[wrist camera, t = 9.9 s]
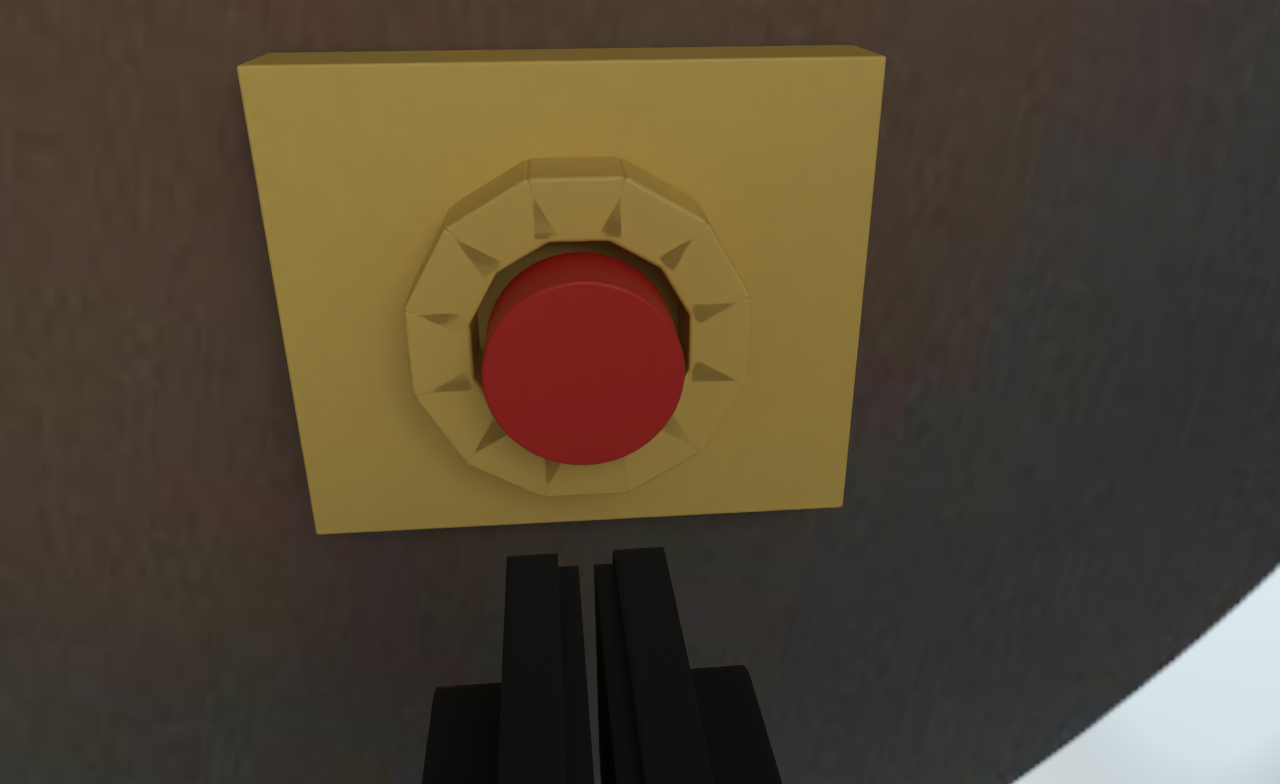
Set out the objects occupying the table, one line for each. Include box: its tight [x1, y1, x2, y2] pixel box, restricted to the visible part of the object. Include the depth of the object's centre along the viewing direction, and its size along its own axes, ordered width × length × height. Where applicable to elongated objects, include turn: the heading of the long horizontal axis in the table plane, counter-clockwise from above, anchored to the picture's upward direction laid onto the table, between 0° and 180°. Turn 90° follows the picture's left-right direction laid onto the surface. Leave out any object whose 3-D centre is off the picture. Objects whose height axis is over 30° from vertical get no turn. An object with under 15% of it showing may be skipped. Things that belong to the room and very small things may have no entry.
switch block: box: [237, 45, 886, 534], centre depth 20 cm, size 12×10×4 cm
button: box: [482, 252, 685, 465], centre depth 18 cm, size 4×4×2 cm
